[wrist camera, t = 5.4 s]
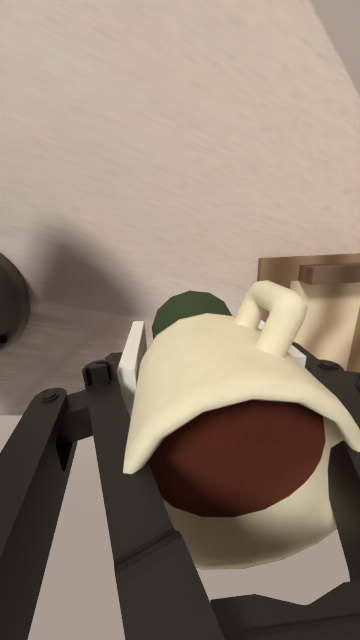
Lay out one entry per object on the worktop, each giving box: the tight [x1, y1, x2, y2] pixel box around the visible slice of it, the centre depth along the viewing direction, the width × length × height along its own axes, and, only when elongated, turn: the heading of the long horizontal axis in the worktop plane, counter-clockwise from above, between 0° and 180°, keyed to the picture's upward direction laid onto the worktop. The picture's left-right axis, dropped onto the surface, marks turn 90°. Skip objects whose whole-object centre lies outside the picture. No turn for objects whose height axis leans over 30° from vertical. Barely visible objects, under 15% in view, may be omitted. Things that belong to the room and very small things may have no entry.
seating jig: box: [257, 253, 360, 372], centre depth 33 cm, size 18×20×4 cm
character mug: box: [123, 280, 360, 570], centre depth 13 cm, size 11×7×13 cm, turn 161°
